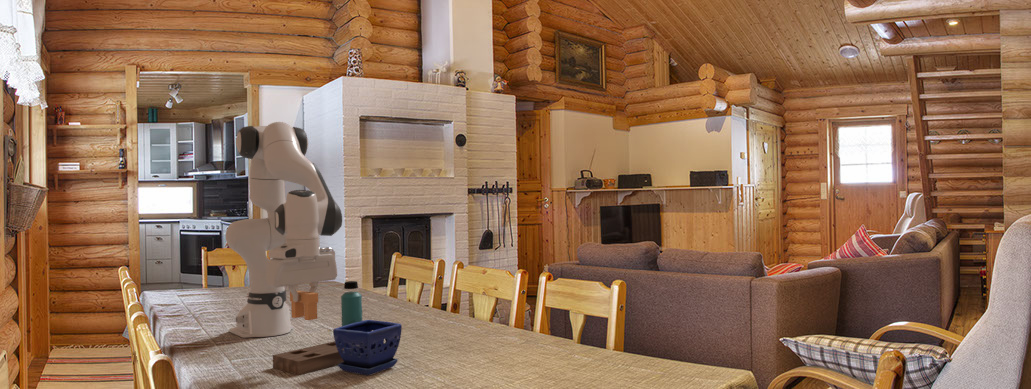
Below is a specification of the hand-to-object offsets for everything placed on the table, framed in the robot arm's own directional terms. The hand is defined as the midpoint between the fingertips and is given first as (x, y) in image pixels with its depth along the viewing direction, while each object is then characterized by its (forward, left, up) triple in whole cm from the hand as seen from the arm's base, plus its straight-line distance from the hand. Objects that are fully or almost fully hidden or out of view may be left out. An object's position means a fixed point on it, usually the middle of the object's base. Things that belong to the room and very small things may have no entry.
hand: (303, 300), depth 186 cm
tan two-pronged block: (0, 0, -5) cm, 5 cm away
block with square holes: (0, +6, -18) cm, 19 cm away
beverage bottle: (-9, +23, -18) cm, 31 cm away
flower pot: (+17, +8, -19) cm, 26 cm away
